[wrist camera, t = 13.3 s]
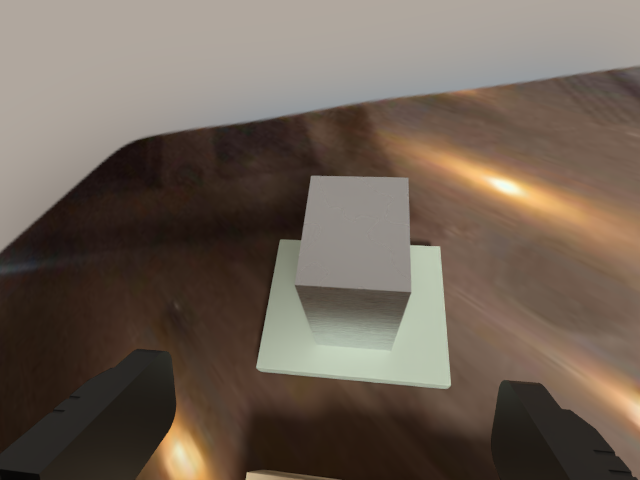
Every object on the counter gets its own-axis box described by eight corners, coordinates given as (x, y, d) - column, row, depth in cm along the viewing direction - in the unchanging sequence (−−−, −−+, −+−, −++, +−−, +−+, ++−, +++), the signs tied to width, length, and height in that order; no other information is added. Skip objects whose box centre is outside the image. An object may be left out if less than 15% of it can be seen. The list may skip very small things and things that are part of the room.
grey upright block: (316, 344, 19) (294, 284, 12) (326, 254, 22) (312, 165, 15) (391, 350, 19) (411, 292, 12) (391, 257, 22) (408, 166, 15)
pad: (260, 371, 20) (256, 367, 19) (282, 247, 24) (280, 239, 23) (446, 389, 18) (450, 385, 18) (436, 254, 23) (439, 246, 22)
